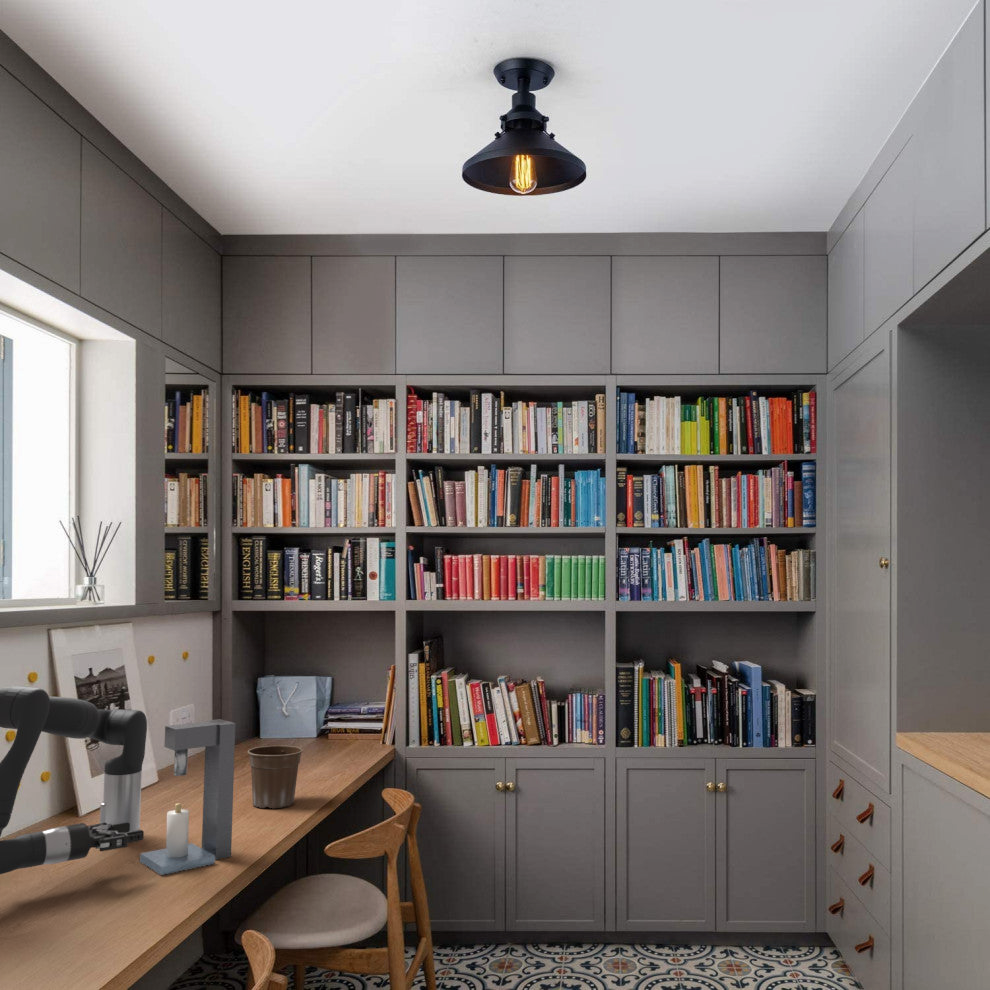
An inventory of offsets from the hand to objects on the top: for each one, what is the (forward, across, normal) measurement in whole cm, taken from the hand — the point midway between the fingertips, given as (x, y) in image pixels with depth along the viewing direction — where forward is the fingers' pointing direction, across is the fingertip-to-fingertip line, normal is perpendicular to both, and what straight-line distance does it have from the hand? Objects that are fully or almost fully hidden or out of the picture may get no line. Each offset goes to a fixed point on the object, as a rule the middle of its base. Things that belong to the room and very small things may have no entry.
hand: (136, 830), depth 215 cm
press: (+13, +5, +9) cm, 17 cm away
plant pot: (+55, +34, +10) cm, 66 cm away
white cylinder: (+10, 0, +7) cm, 13 cm away
